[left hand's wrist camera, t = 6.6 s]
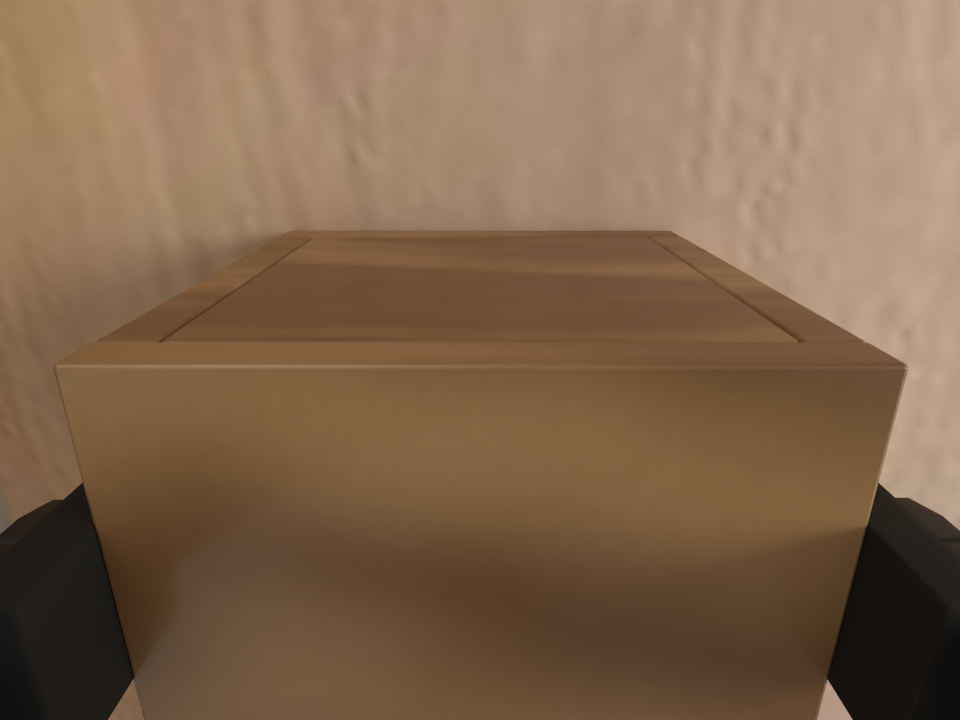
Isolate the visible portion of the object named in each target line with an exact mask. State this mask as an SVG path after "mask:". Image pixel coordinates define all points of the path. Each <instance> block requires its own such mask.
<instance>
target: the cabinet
mask: <svg viewBox="0 0 960 720" xmlns="http://www.w3.org/2000/svg"><path fill="white" fill-rule="evenodd" d="M907 370H908V369H907V365H906V364H905V363H903V362H901V361H899V360H898V359H896V358H894V357H892V356H890V355H889V354H887V353H885V352H883V351H882V350H880V349H878V348H876V347H875V346H873V345H871V344H869V343H865V342H864V340H862V339H860V338H858V337H857V336H855V335H853V334H851V333H850V332H848V331H846V330H844V329H843V328H841V327H839V326H837V325H836V324H834V323H832V322H830V321H829V320H827V319H825V318H823V317H821V316H820V315H818V314H816V313H814V312H813V311H811V310H809V309H807V308H806V307H804V306H802V305H800V304H799V303H797V302H795V301H793V300H792V299H790V298H788V297H786V296H785V295H783V294H781V293H779V292H778V291H776V290H774V289H772V288H771V287H769V286H767V285H765V284H763V283H762V282H760V281H758V280H756V279H755V278H753V277H751V276H749V275H748V274H746V273H744V272H742V271H741V270H739V269H737V268H735V267H734V266H732V265H730V264H728V263H727V262H725V261H723V260H721V259H720V258H718V257H716V256H714V255H712V254H711V253H709V252H707V251H705V250H704V249H702V248H700V247H698V246H697V245H695V244H693V243H691V242H690V241H688V240H686V239H684V238H683V237H680V236H678V235H677V234H675V233H673V232H671V231H291V232H289V233H287V234H285V235H284V236H282V237H280V238H278V239H276V240H275V241H273V242H271V243H269V244H268V245H266V246H264V247H262V248H261V249H259V250H257V251H255V252H253V253H252V254H250V255H248V256H246V257H245V258H243V259H241V260H239V261H238V262H236V263H234V264H232V265H231V266H229V267H227V268H225V269H223V270H222V271H220V272H218V273H216V274H215V275H213V276H211V277H209V278H208V279H206V280H204V281H202V282H201V283H199V284H197V285H195V286H194V287H192V288H190V289H188V290H186V291H185V292H183V293H181V294H179V295H178V296H176V297H174V298H172V299H171V300H169V301H167V302H165V303H164V304H162V305H160V306H158V307H156V308H155V309H153V310H151V311H149V312H148V313H146V314H144V315H142V316H141V317H139V318H137V319H135V320H134V321H132V322H130V323H128V324H127V325H125V326H123V327H121V328H119V329H118V330H116V331H114V332H112V333H111V334H109V335H107V336H105V337H104V338H102V339H100V340H99V341H98V342H94V343H92V344H90V345H88V346H86V347H84V348H83V349H81V350H79V351H77V352H76V353H74V354H72V355H70V356H69V357H67V358H65V359H63V360H61V361H60V362H58V363H56V364H55V365H54V372H55V376H56V380H57V384H58V388H59V391H60V395H61V399H62V403H63V407H64V411H65V415H66V418H67V422H68V426H69V430H70V434H71V438H72V442H73V445H74V449H75V453H76V457H77V461H78V465H79V469H80V472H81V476H82V480H83V484H84V488H85V492H86V496H87V500H88V503H89V507H90V511H91V515H92V519H93V523H94V527H95V530H96V534H97V538H98V542H99V546H100V550H101V554H102V557H103V561H104V565H105V569H106V573H107V577H108V581H109V584H110V588H111V592H112V596H113V600H114V604H115V608H116V611H117V615H118V619H119V623H120V627H121V631H122V635H123V638H124V642H125V646H126V650H127V654H128V658H129V662H130V665H131V669H132V673H133V677H134V681H135V685H136V689H137V692H138V696H139V700H140V704H141V708H142V712H143V716H144V719H145V720H817V717H818V714H819V710H820V706H821V702H822V698H823V694H824V690H825V687H826V683H827V679H828V675H829V671H830V667H831V663H832V660H833V656H834V652H835V648H836V644H837V640H838V636H839V633H840V629H841V625H842V621H843V617H844V613H845V609H846V606H847V602H848V598H849V594H850V590H851V586H852V582H853V578H854V575H855V571H856V567H857V563H858V559H859V555H860V551H861V548H862V544H863V540H864V536H865V532H866V528H867V524H868V521H869V517H870V513H871V509H872V505H873V501H874V497H875V494H876V490H877V486H878V482H879V478H880V474H881V470H882V467H883V463H884V459H885V455H886V451H887V447H888V443H889V440H890V436H891V432H892V428H893V424H894V420H895V416H896V413H897V409H898V405H899V401H900V397H901V393H902V389H903V386H904V382H905V378H906V374H907Z"/></svg>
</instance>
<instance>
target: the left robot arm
mask: <svg viewBox="0 0 960 720" xmlns="http://www.w3.org/2000/svg"><path fill="white" fill-rule="evenodd" d="M133 679H134V677H133V673H132V669H131V665H130V662H129V658H128V654H127V650H126V646H125V642H124V638H123V635H122V631H121V627H120V623H119V619H118V615H117V611H116V608H115V604H114V600H113V596H112V592H111V588H110V584H109V581H108V577H107V573H106V569H105V565H104V561H103V557H102V554H101V550H100V546H99V542H98V538H97V534H96V530H95V527H94V523H93V519H92V515H91V511H90V507H89V503H88V500H87V496H86V492H85V488H84V484H83V483H82V484H81V485H79V486H78V487H77V488H76V489H75V490H74V491H73V492H72V493H71V494H69V495H68V496H67V497H66V498H65V499H64V500H52V501H50V502H48V503H47V504H45V505H43V506H41V507H39V508H37V509H35V510H34V511H32V512H30V513H28V514H26V515H24V516H23V517H21V518H19V519H18V520H17V521H15V522H14V523H13V524H12V525H11V526H10V527H8V528H7V529H6V530H5V531H4V532H3V533H1V534H0V720H108V719H109V717H110V715H111V714H112V712H113V711H114V709H115V707H116V706H117V704H118V703H119V701H120V699H121V698H122V696H123V695H124V693H125V691H126V690H127V688H128V687H129V685H130V683H131V682H132V680H133ZM828 681H829V682H830V684H831V685H832V687H833V689H834V690H835V692H836V693H837V695H838V697H839V698H840V700H841V701H842V703H843V705H844V706H845V708H846V709H847V711H848V713H849V714H850V716H851V717H852V719H853V720H960V531H959V530H958V529H957V528H956V527H955V526H953V525H952V524H951V523H950V522H949V521H948V520H946V519H945V518H944V517H943V516H941V515H939V514H937V513H936V512H934V511H932V510H930V509H928V508H926V507H924V506H922V505H921V504H919V503H917V502H915V501H913V500H911V499H909V498H895V497H894V496H892V495H891V494H890V493H889V492H888V491H887V490H886V489H885V488H884V487H882V486H881V485H880V484H879V483H878V486H877V490H876V494H875V497H874V501H873V505H872V509H871V513H870V517H869V521H868V524H867V528H866V532H865V536H864V540H863V544H862V548H861V551H860V555H859V559H858V563H857V567H856V571H855V575H854V578H853V582H852V586H851V590H850V594H849V598H848V602H847V606H846V609H845V613H844V617H843V621H842V625H841V629H840V633H839V636H838V640H837V644H836V648H835V652H834V656H833V660H832V663H831V667H830V671H829V675H828Z"/></svg>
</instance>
